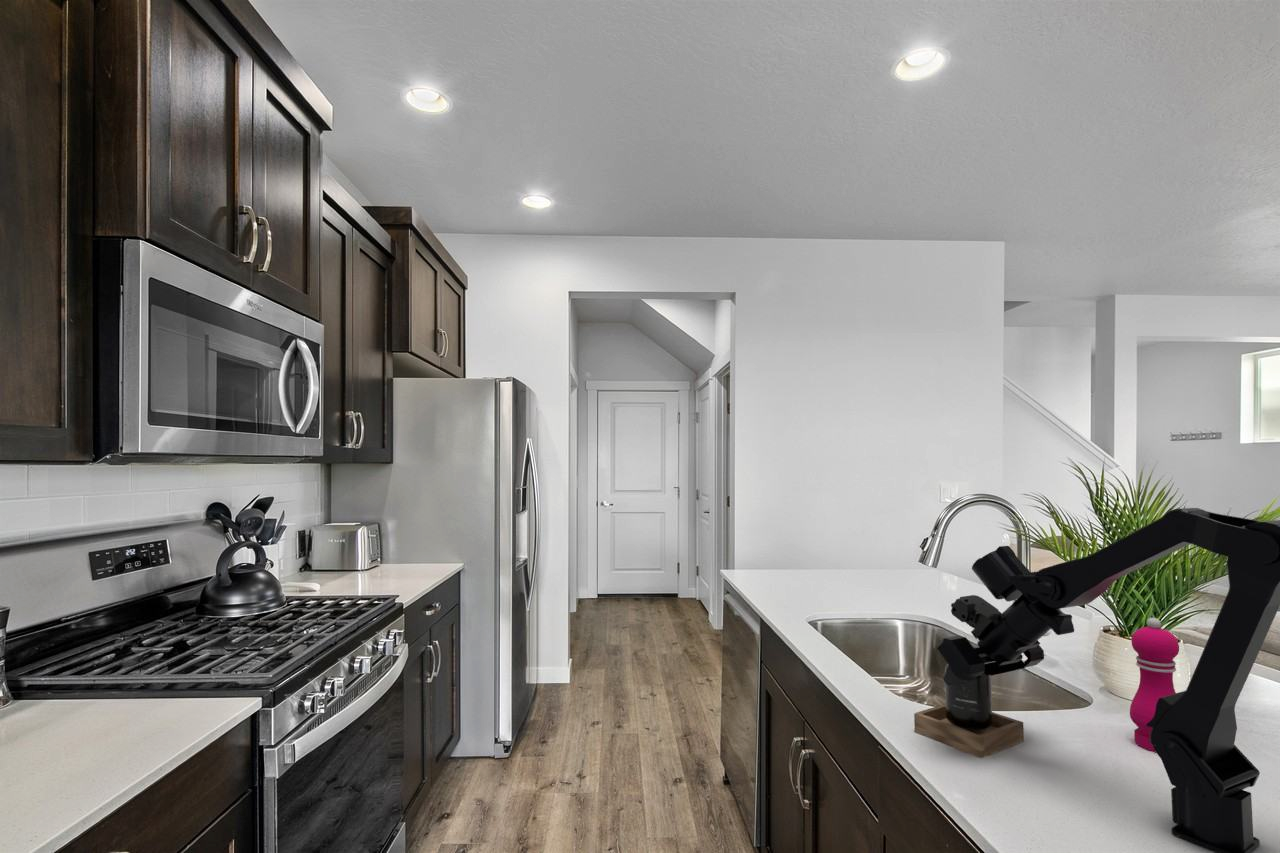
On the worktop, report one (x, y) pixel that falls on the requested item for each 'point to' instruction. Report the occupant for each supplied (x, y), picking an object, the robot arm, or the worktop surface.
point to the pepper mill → (1152, 675)
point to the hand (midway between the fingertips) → (960, 679)
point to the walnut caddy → (969, 732)
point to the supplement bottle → (970, 702)
